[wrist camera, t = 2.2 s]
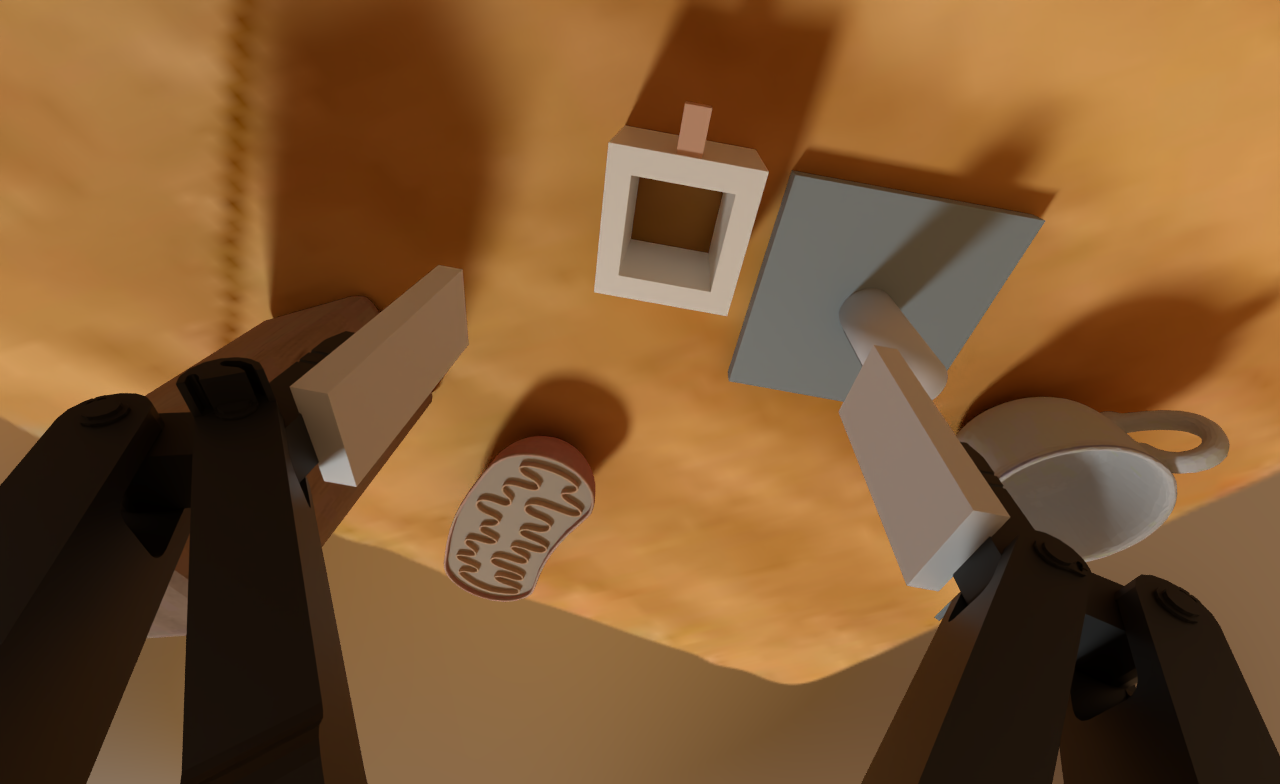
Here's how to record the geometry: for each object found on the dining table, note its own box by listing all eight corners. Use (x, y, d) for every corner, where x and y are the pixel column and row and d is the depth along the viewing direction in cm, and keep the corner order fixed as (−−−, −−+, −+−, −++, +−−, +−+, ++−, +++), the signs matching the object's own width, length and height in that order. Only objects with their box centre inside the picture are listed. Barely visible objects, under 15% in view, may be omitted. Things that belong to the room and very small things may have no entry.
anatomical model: (532, 569, 53) (519, 611, 49) (447, 537, 51) (426, 579, 47) (621, 441, 40) (612, 485, 36) (513, 392, 38) (491, 432, 34)
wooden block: (369, 287, 34) (71, 504, 18) (441, 396, 39) (263, 638, 23) (264, 317, 36) (-83, 532, 20) (345, 416, 42) (124, 647, 25)
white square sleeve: (722, 274, 31) (726, 316, 26) (610, 253, 30) (594, 292, 26) (766, 107, 25) (783, 122, 20) (629, 82, 25) (613, 90, 20)
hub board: (791, 170, 27) (828, 216, 19) (1032, 214, 27) (1161, 277, 19) (727, 371, 35) (736, 458, 28) (912, 404, 35) (969, 499, 28)
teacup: (946, 497, 40) (993, 582, 34) (910, 410, 35) (958, 490, 29) (1149, 440, 35) (1252, 528, 28) (1140, 328, 30) (1261, 404, 24)
